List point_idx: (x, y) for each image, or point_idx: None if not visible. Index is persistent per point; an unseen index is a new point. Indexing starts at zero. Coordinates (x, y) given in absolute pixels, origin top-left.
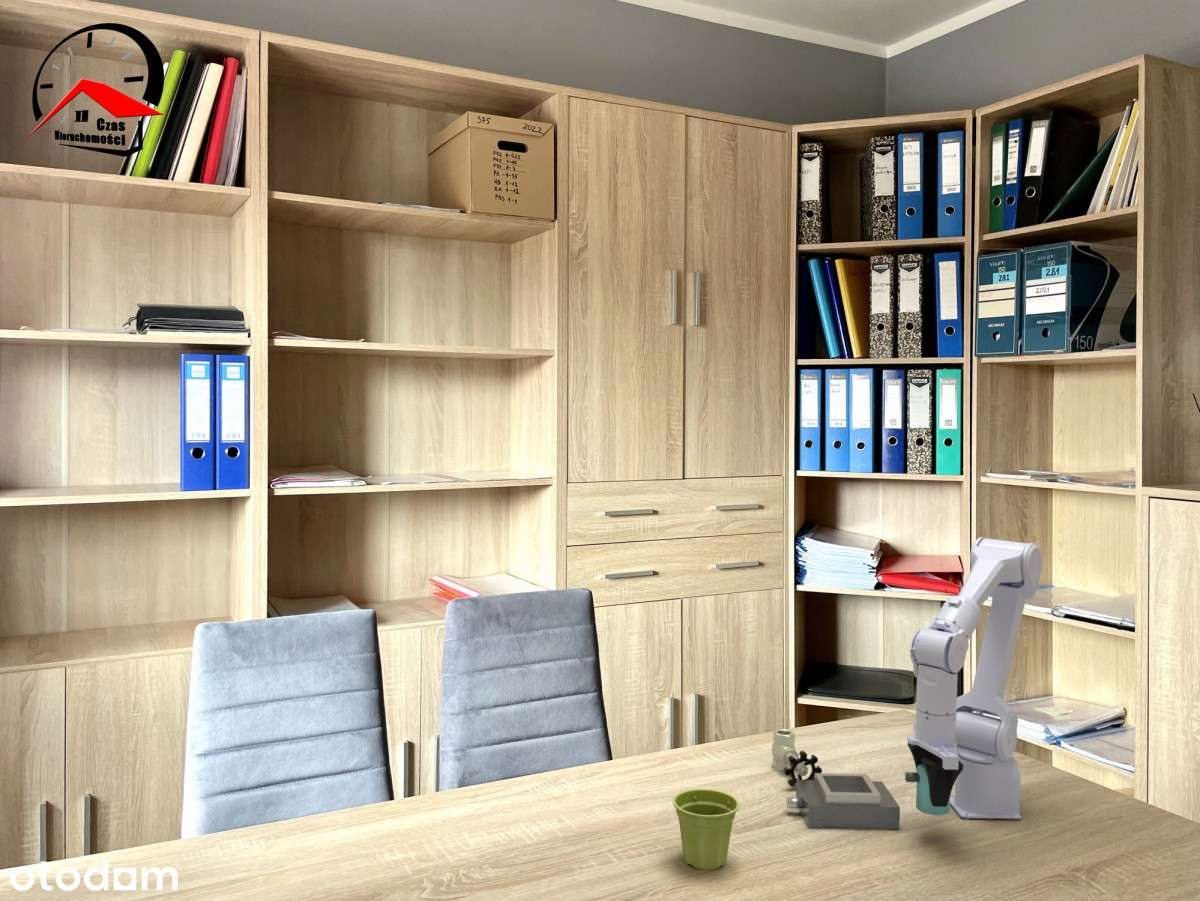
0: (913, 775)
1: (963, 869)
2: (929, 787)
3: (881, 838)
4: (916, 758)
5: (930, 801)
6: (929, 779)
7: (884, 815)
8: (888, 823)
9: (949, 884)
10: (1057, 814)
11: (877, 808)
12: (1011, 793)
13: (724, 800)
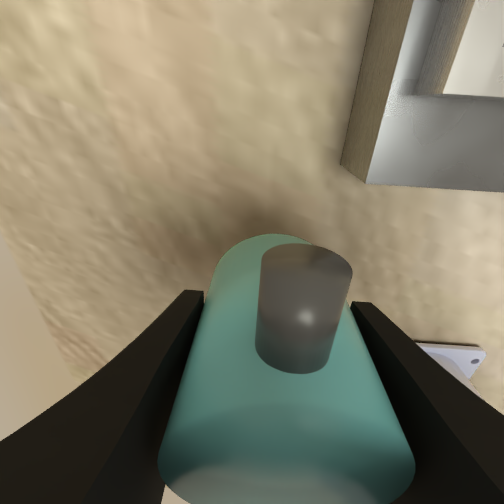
0: (270, 326)
1: (108, 249)
2: (161, 346)
3: (284, 69)
4: (489, 494)
5: (207, 295)
6: (78, 405)
7: (370, 108)
8: (355, 126)
9: (12, 185)
10: None
11: (392, 66)
12: None
13: None
